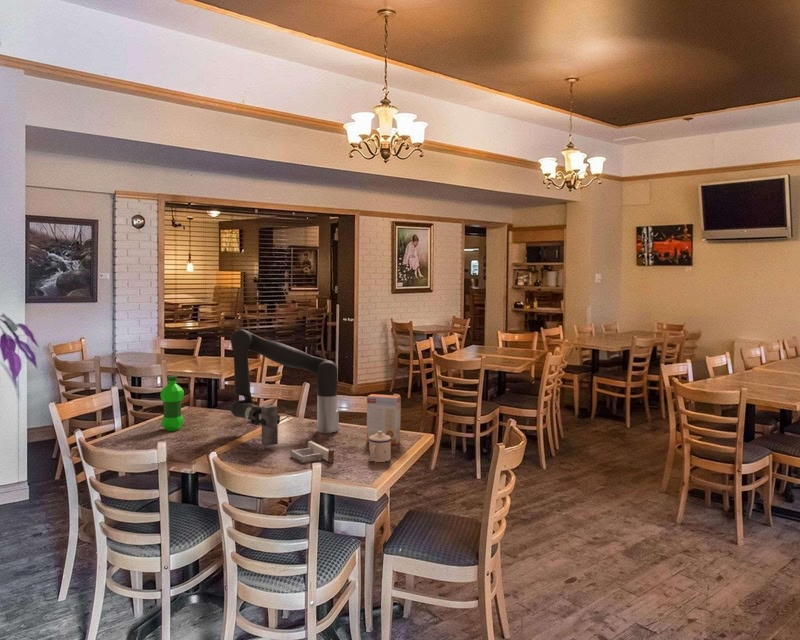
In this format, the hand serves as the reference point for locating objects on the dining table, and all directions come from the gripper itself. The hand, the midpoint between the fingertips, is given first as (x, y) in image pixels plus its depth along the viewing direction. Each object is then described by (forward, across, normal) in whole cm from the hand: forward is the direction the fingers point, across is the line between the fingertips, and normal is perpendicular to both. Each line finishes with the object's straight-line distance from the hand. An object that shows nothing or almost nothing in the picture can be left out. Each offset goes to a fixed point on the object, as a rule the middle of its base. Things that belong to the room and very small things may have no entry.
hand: (272, 422), depth 257 cm
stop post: (-3, 0, +10) cm, 10 cm away
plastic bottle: (-57, -25, +12) cm, 63 cm away
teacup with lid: (+35, +30, +12) cm, 48 cm away
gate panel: (+18, +13, +12) cm, 25 cm away
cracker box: (+13, +47, +13) cm, 50 cm away
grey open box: (+18, +8, +12) cm, 23 cm away
